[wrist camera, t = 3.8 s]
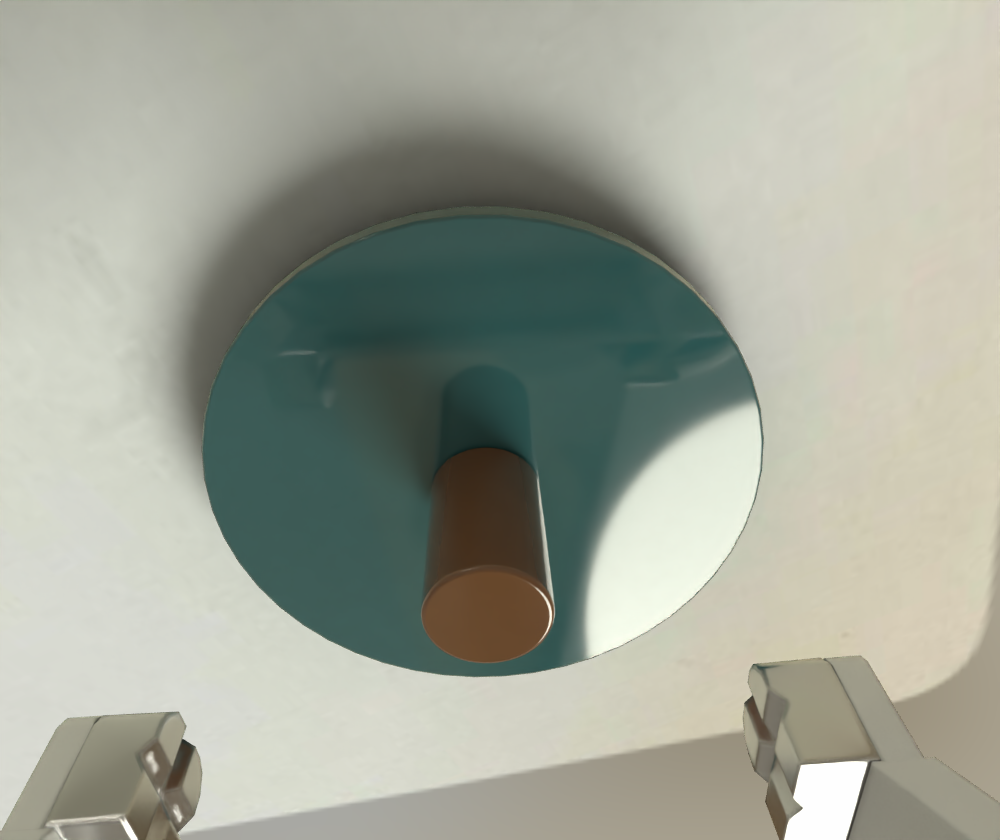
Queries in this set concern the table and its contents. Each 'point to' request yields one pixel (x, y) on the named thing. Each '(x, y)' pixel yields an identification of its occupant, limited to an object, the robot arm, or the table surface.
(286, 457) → the lid
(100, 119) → the table surface
